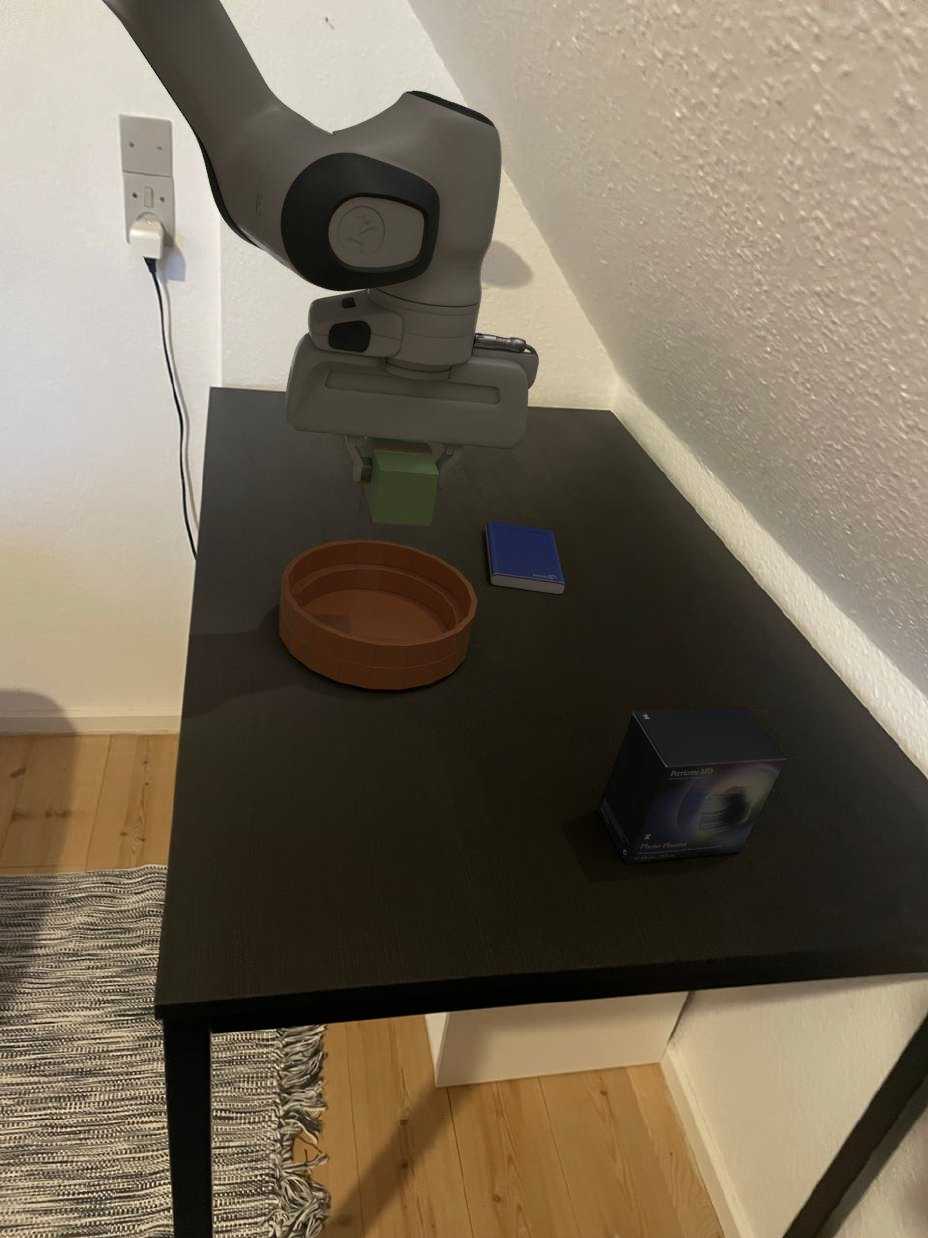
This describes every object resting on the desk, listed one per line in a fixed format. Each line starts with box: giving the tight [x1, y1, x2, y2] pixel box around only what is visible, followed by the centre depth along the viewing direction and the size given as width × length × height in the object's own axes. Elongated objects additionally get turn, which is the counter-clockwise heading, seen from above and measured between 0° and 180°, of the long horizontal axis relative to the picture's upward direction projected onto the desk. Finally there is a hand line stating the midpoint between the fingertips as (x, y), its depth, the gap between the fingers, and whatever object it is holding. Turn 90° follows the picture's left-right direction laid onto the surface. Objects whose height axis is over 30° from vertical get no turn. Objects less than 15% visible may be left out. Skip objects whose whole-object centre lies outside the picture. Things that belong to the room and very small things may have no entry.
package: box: [363, 437, 439, 528], centre depth 82 cm, size 5×9×5 cm, turn 10°
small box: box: [595, 705, 787, 865], centre depth 73 cm, size 11×6×10 cm, turn 105°
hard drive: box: [485, 521, 566, 595], centre depth 109 cm, size 2×8×12 cm
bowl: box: [278, 538, 478, 691], centre depth 90 cm, size 18×18×6 cm
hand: (397, 483), depth 83 cm, fingers closed on package, 5 cm apart
